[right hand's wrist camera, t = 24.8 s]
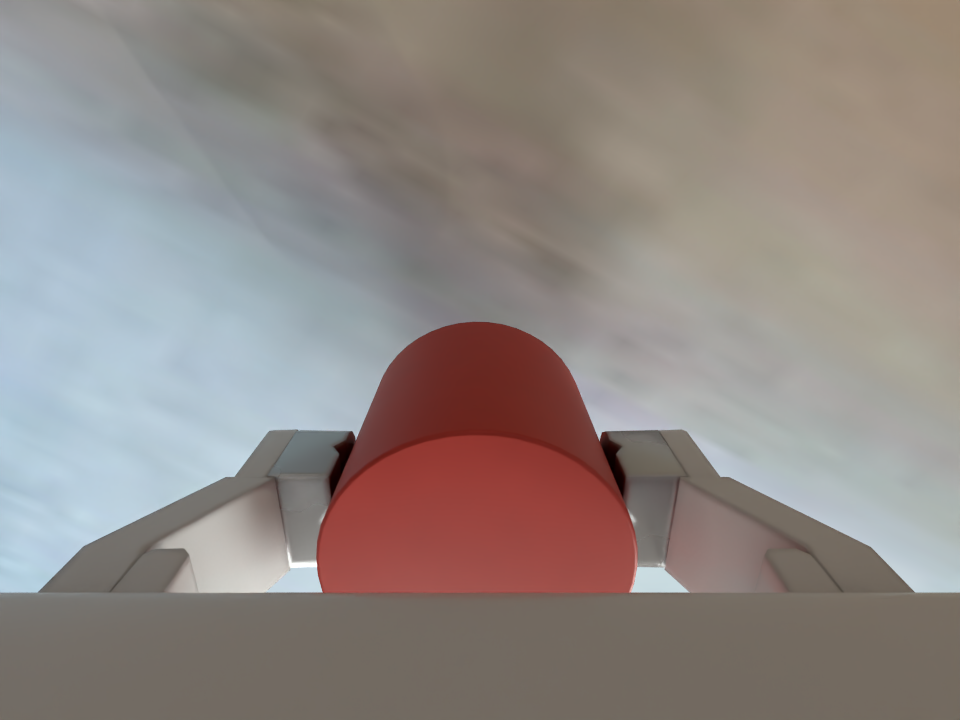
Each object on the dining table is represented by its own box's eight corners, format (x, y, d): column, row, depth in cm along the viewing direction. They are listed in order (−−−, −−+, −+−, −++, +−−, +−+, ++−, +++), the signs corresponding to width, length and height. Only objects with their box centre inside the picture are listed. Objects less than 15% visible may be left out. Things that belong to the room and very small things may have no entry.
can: (376, 311, 11) (310, 416, 7) (597, 331, 11) (672, 446, 7) (372, 496, 13) (317, 675, 8) (563, 511, 13) (606, 694, 9)
